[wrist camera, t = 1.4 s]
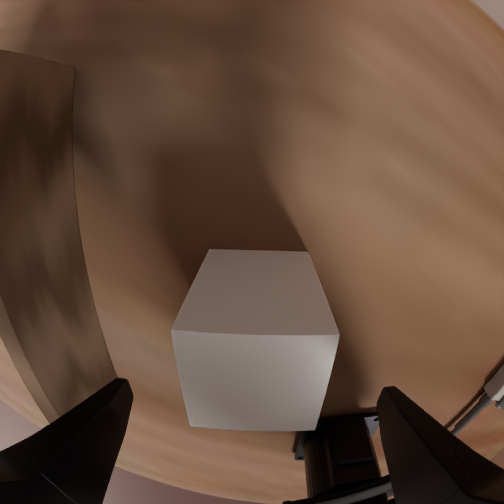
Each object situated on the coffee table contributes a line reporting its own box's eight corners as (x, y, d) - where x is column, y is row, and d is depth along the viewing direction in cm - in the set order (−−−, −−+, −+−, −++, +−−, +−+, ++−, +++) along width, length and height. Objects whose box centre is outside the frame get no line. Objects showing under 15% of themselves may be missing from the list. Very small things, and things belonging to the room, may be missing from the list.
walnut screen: (120, 387, 19) (87, 457, 12) (104, 384, 19) (69, 450, 12) (74, 67, 11) (-15, 47, 5) (55, 74, 11) (-33, 60, 5)
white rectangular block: (299, 332, 16) (314, 430, 10) (213, 329, 17) (189, 425, 10) (308, 251, 15) (339, 334, 8) (208, 248, 15) (170, 329, 8)
